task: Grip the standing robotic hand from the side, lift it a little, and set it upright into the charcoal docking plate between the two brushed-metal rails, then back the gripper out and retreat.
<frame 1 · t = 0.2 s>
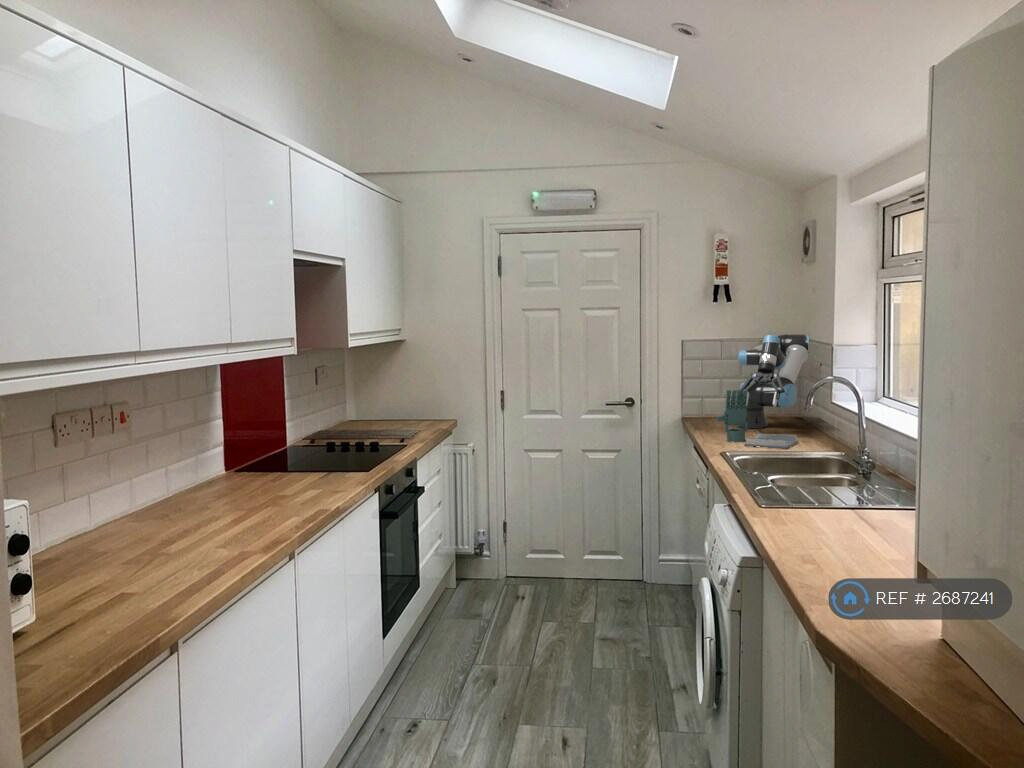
hand: (759, 405, 376), 15 cm above the countertop, tool tilted 35°, fingers open, 13 cm apart
rail dock: (771, 444, 355), on the countertop
robotic hand: (732, 441, 369), on the countertop
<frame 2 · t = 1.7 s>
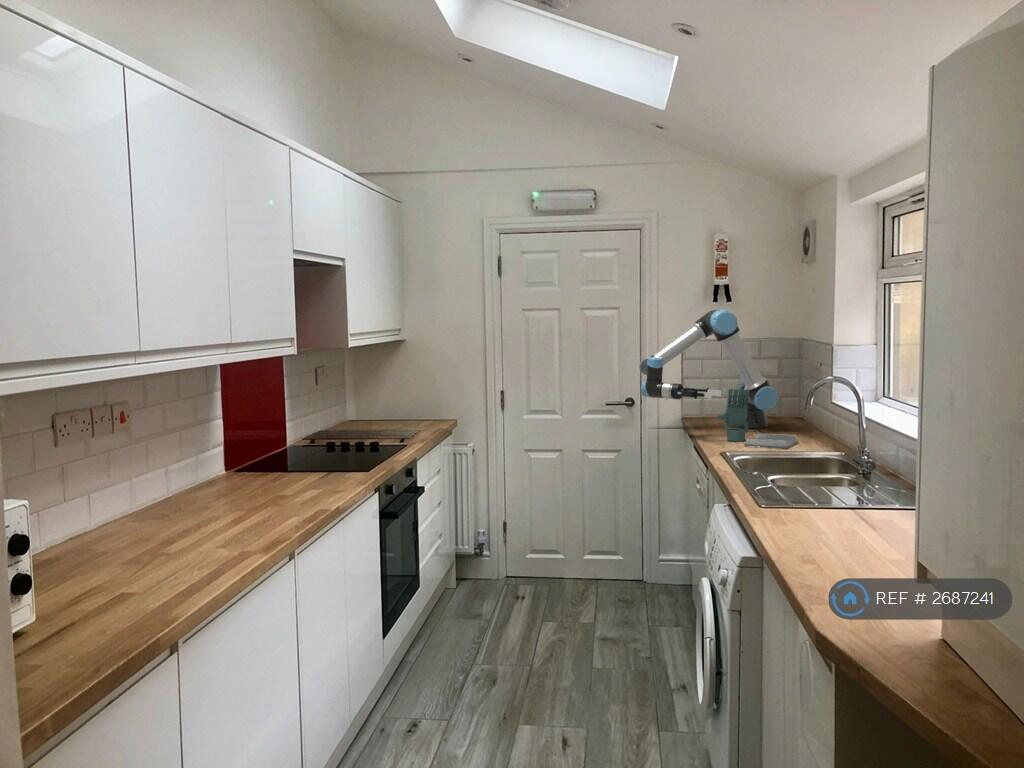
hand: (716, 394, 372), 21 cm above the countertop, tool horizontal, fingers open, 13 cm apart
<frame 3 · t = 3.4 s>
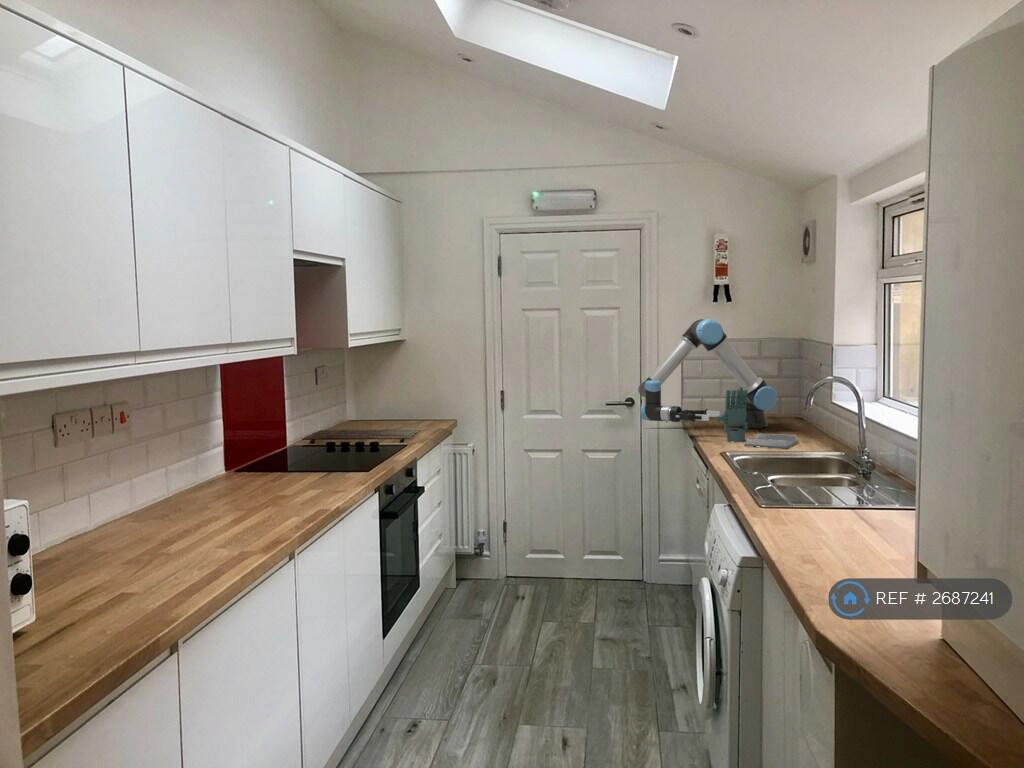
hand: (714, 416, 373), 11 cm above the countertop, tool horizontal, fingers open, 13 cm apart
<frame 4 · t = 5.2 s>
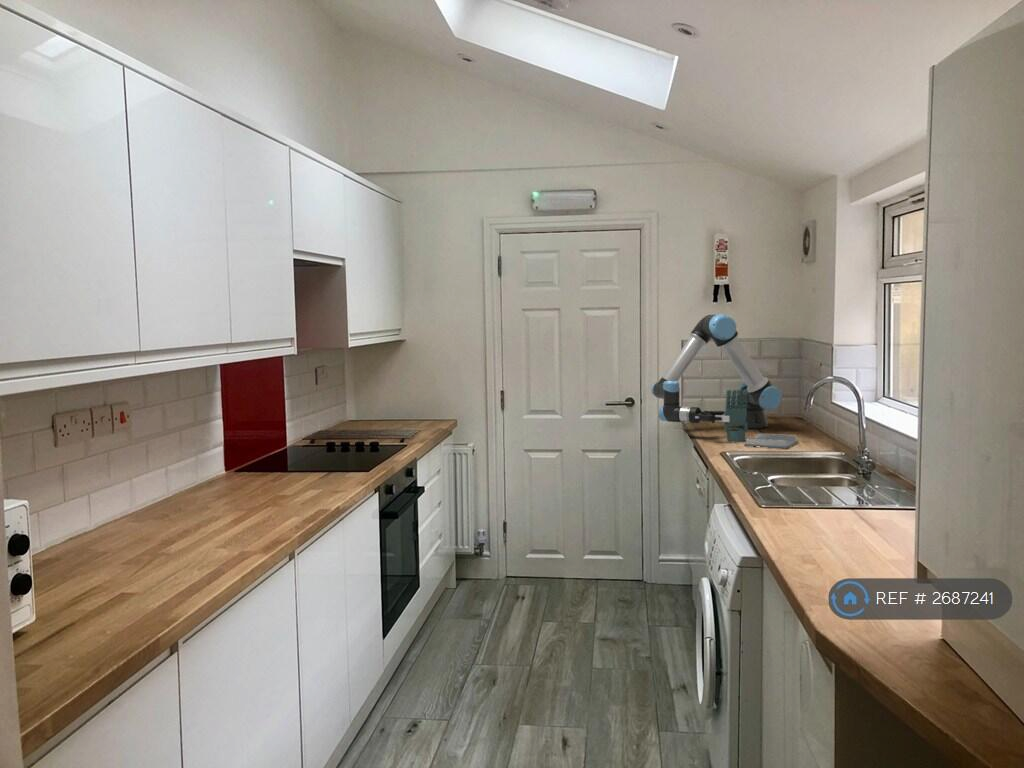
hand: (734, 417, 367), 11 cm above the countertop, tool horizontal, fingers open, 13 cm apart
nothing on the countertop moved.
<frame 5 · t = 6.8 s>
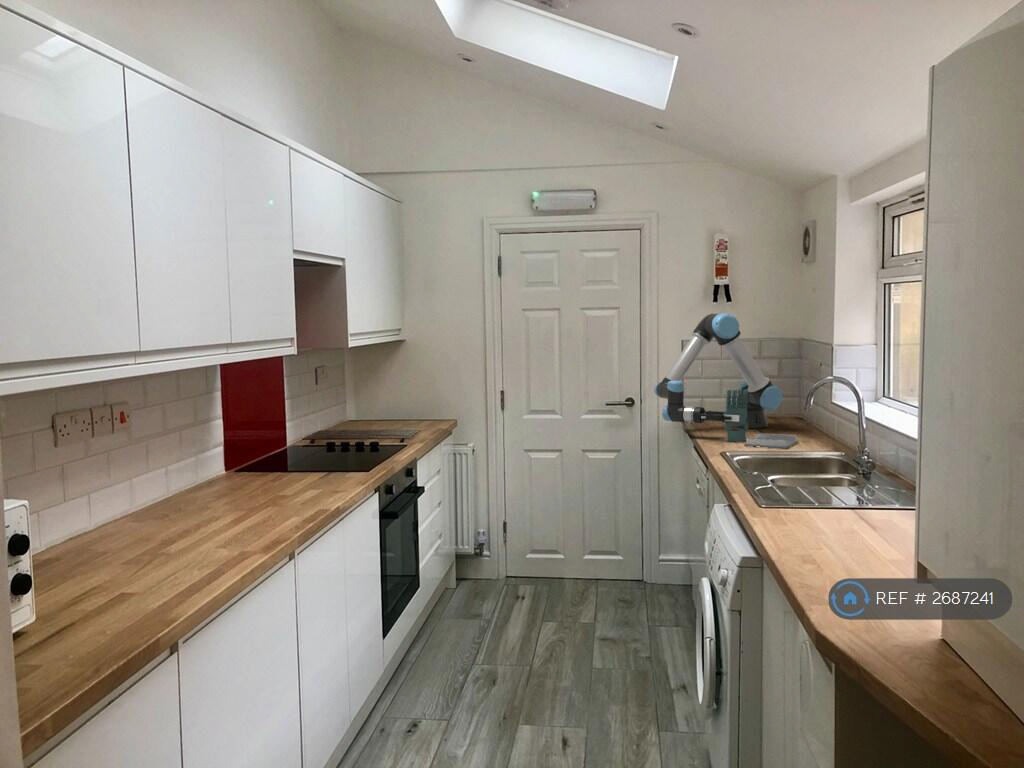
hand: (742, 417, 365), 11 cm above the countertop, tool horizontal, fingers closed on robotic hand, 8 cm apart
robotic hand: (733, 440, 369), on the countertop, touching gripper, hand
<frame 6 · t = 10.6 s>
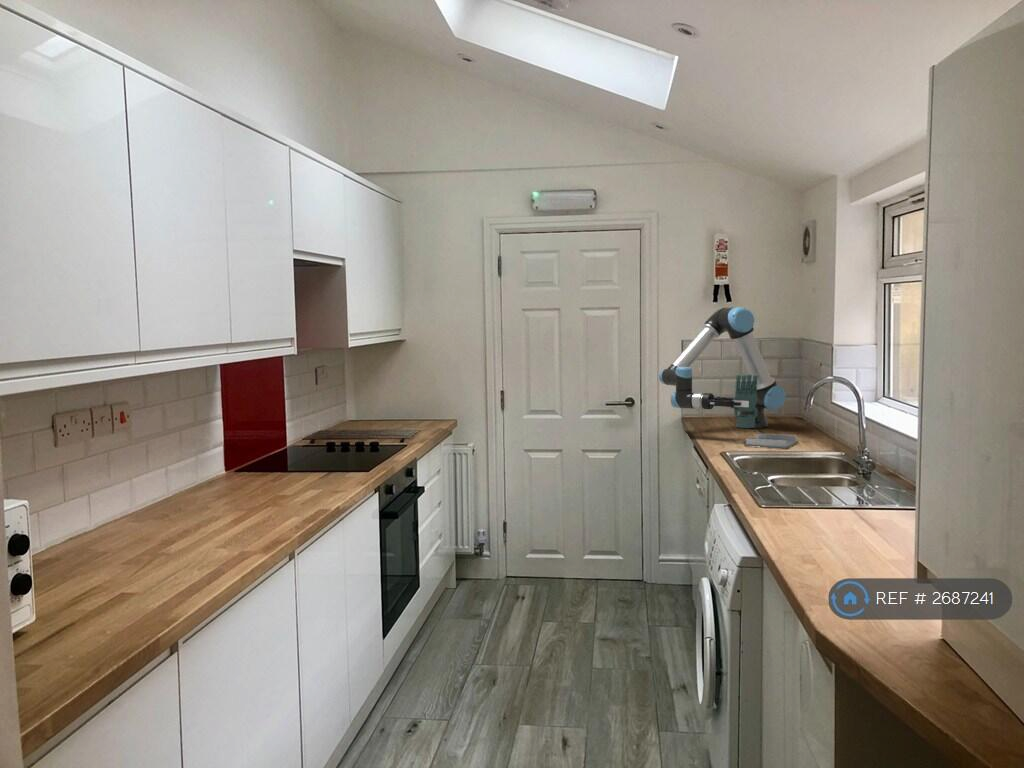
hand: (751, 403, 360), 18 cm above the countertop, tool horizontal, fingers closed on robotic hand, 8 cm apart
robotic hand: (742, 427, 364), point 7 cm above the countertop, touching gripper, hand
when the fingers open (13 cm above the countertop, at t = 14.3 s): robotic hand drops 1 cm, resting on rail dock.
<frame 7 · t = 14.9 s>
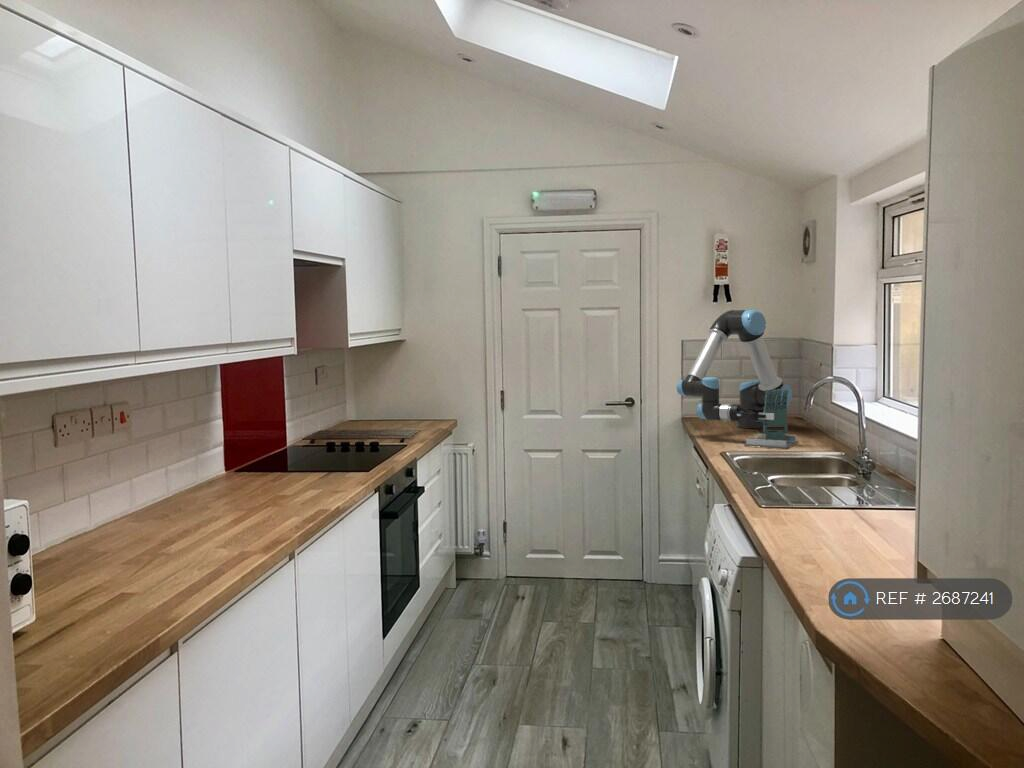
hand: (778, 414, 352), 13 cm above the countertop, tool horizontal, fingers open, 13 cm apart
robotic hand: (771, 442, 355), point 1 cm above the countertop, touching rail dock
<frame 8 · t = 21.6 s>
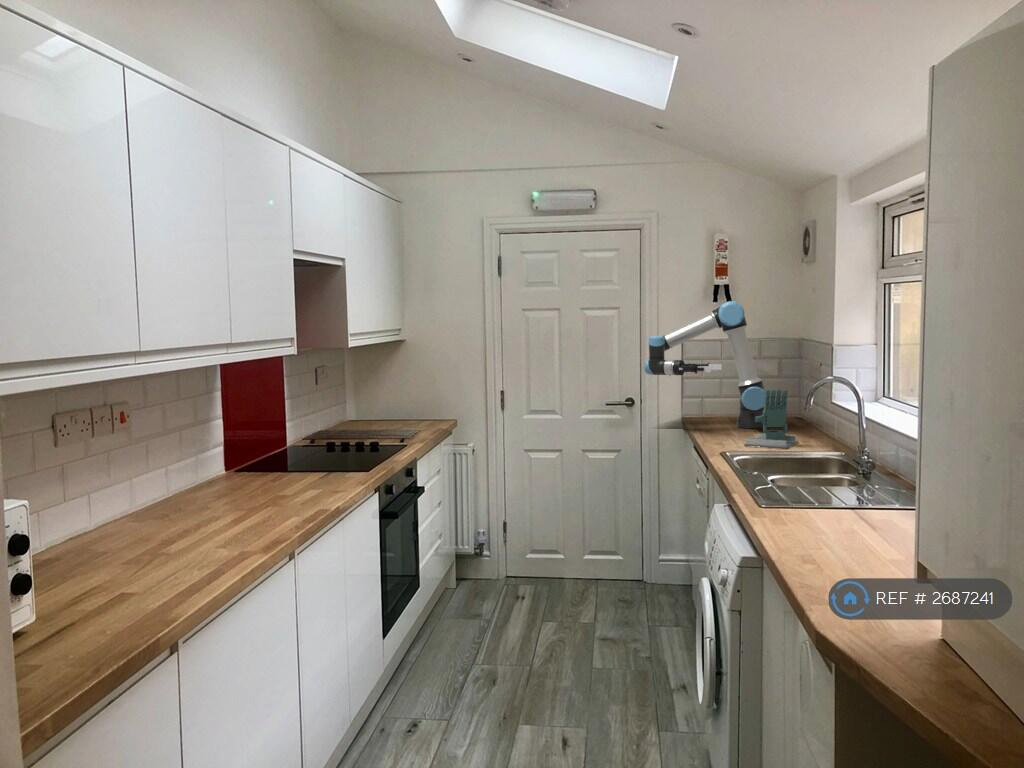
hand: (716, 368, 385), 32 cm above the countertop, tool horizontal, fingers open, 13 cm apart
nothing on the countertop moved.
at the end: robotic hand inside the target area on the rail dock (0.3 cm from its centre), point 0.8 cm above the rail dock's base; robotic hand tilted 1°; the gripper is holding nothing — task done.
